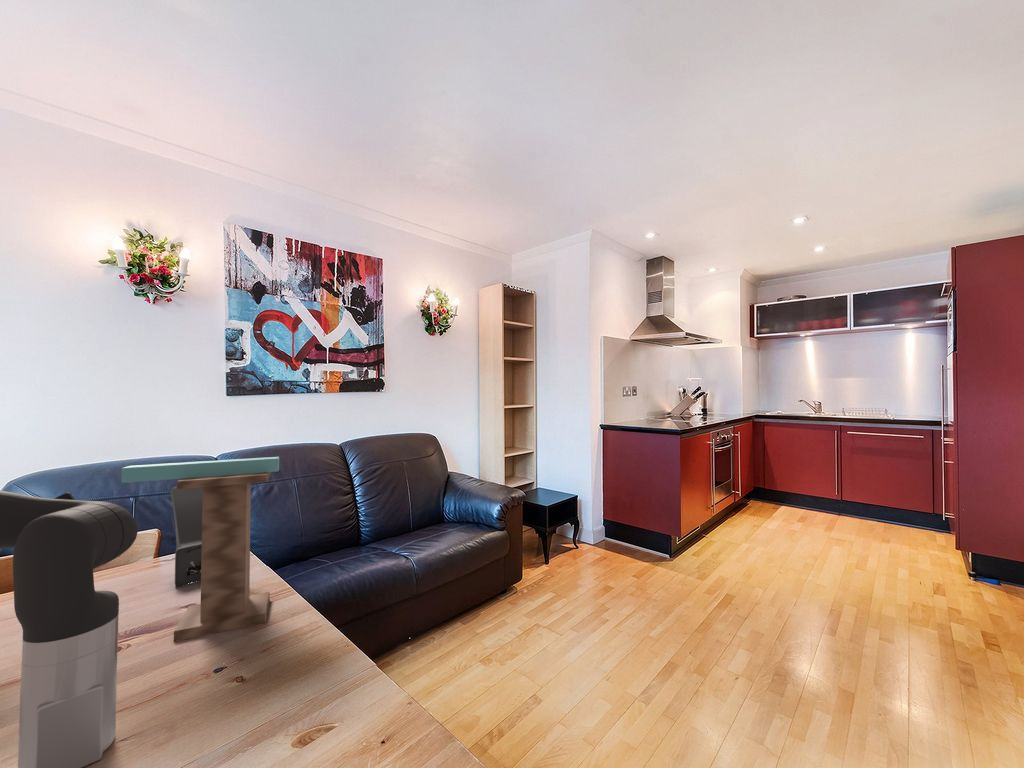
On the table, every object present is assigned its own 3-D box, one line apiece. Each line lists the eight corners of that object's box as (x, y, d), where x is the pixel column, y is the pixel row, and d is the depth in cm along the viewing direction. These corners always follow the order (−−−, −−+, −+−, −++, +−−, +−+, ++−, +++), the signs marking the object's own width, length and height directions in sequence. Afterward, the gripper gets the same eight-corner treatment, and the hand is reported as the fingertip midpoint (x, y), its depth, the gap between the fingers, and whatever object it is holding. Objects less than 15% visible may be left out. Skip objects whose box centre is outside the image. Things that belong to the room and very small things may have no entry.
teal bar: (121, 483, 86) (121, 468, 87) (128, 479, 90) (129, 465, 90) (278, 471, 99) (278, 458, 99) (279, 469, 102) (279, 456, 102)
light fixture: (207, 561, 131) (209, 481, 132) (224, 575, 119) (225, 488, 120) (162, 571, 123) (164, 486, 124) (175, 588, 111) (177, 494, 112)
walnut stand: (173, 641, 86) (177, 481, 87) (188, 615, 96) (191, 473, 98) (265, 622, 93) (266, 474, 94) (269, 600, 103) (270, 467, 105)
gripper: (-94, 547, 71) (26, 490, 77) (-31, 525, 83) (67, 478, 90) (-64, 583, 72) (52, 524, 78) (-7, 556, 85) (89, 508, 91)
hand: (60, 500), depth 84 cm, fingers open, 8 cm apart
